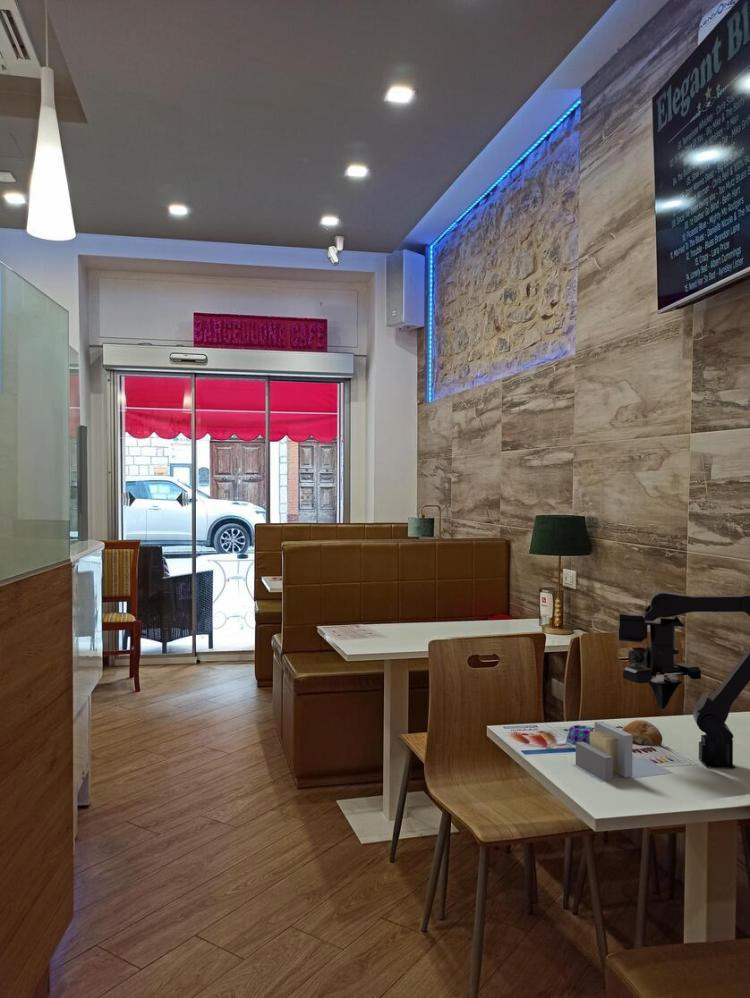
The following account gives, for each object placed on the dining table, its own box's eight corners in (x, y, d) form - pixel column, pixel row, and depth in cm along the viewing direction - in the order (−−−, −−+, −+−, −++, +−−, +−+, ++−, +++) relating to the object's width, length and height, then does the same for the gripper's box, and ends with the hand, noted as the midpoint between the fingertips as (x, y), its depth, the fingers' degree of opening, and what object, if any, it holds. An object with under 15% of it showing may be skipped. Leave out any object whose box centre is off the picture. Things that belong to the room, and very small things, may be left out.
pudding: (613, 747, 188) (613, 727, 188) (595, 760, 178) (595, 738, 178) (568, 738, 195) (569, 718, 195) (548, 749, 186) (548, 728, 186)
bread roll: (665, 762, 187) (674, 731, 189) (643, 751, 182) (651, 719, 184) (632, 751, 195) (640, 722, 197) (609, 740, 190) (618, 710, 192)
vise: (641, 763, 175) (641, 735, 175) (673, 779, 165) (673, 750, 165) (571, 771, 169) (571, 742, 169) (600, 788, 159) (601, 758, 159)
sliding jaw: (601, 760, 172) (601, 721, 172) (632, 776, 161) (632, 735, 162) (594, 761, 171) (594, 721, 171) (624, 777, 161) (624, 735, 161)
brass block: (600, 765, 169) (601, 730, 169) (617, 775, 163) (617, 738, 163) (589, 767, 168) (589, 731, 168) (605, 776, 162) (605, 739, 162)
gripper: (670, 636, 190) (670, 697, 190) (609, 639, 184) (608, 703, 184) (703, 644, 179) (702, 709, 179) (638, 648, 173) (637, 715, 173)
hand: (661, 708), depth 179 cm, fingers closed
